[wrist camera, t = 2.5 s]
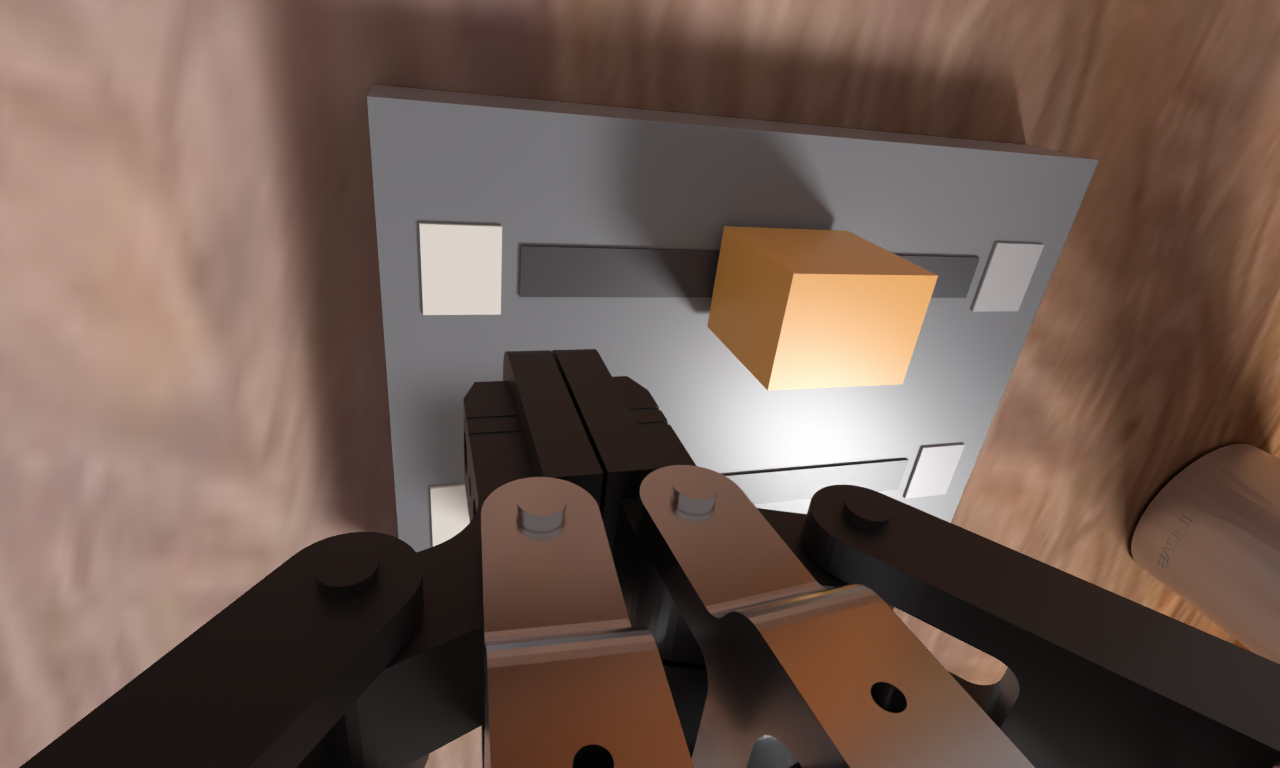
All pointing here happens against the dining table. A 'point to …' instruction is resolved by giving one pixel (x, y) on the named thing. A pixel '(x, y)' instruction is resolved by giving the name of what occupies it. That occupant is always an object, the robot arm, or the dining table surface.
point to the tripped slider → (817, 307)
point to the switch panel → (695, 281)
